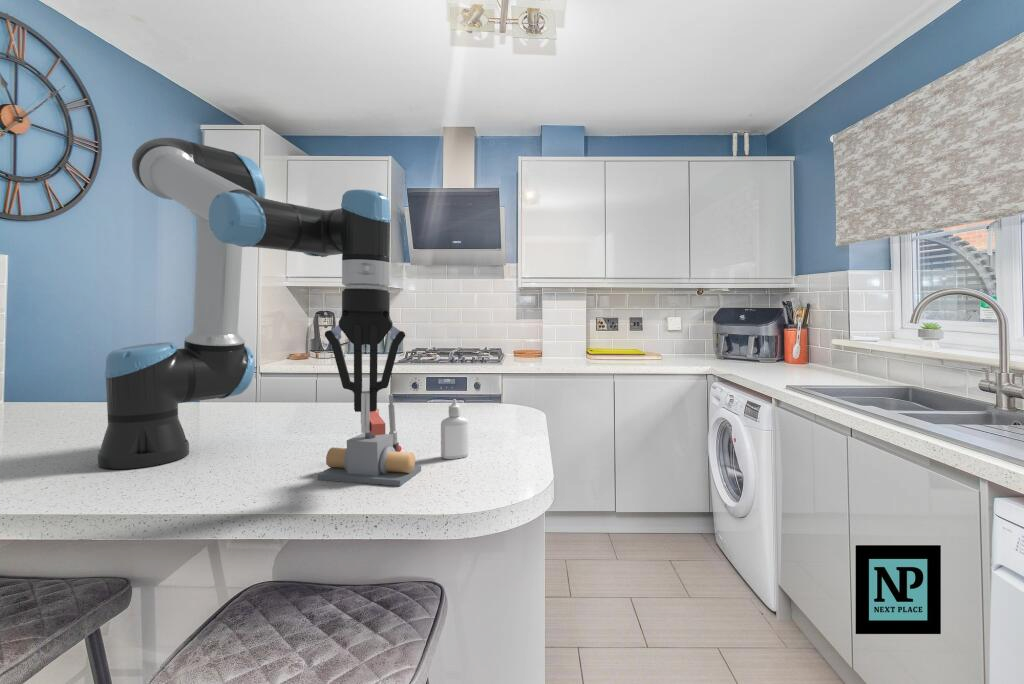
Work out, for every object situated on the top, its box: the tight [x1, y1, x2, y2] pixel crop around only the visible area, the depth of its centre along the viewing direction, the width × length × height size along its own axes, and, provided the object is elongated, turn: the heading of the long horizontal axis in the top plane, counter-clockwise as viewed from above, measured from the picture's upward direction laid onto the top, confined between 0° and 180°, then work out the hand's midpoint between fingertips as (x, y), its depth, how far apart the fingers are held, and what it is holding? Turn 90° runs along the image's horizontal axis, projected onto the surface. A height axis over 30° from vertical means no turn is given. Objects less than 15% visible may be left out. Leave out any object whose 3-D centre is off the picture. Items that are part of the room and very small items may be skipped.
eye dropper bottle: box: [440, 399, 470, 460], centre depth 106 cm, size 4×6×12 cm
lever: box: [370, 408, 386, 435], centre depth 89 cm, size 14×3×2 cm, turn 22°
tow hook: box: [388, 394, 402, 452], centre depth 107 cm, size 8×13×9 cm
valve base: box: [317, 432, 422, 487], centre depth 94 cm, size 16×9×10 cm, turn 77°
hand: (365, 430), depth 85 cm, fingers closed
